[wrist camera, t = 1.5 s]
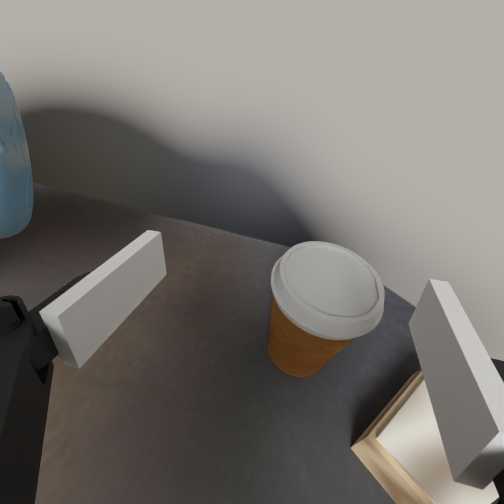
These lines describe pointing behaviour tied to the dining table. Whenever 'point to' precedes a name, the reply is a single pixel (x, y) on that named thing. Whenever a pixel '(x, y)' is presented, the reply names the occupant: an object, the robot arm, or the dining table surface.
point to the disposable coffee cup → (320, 305)
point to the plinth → (413, 452)
